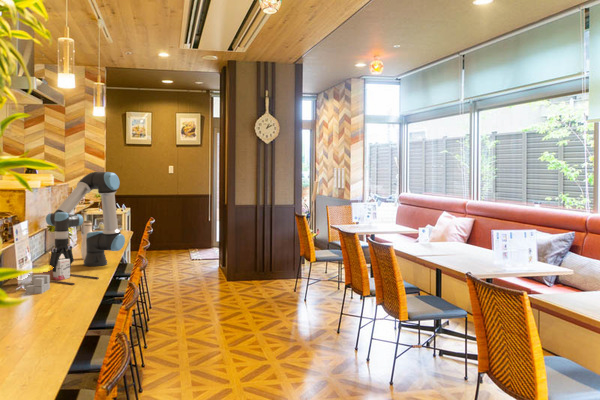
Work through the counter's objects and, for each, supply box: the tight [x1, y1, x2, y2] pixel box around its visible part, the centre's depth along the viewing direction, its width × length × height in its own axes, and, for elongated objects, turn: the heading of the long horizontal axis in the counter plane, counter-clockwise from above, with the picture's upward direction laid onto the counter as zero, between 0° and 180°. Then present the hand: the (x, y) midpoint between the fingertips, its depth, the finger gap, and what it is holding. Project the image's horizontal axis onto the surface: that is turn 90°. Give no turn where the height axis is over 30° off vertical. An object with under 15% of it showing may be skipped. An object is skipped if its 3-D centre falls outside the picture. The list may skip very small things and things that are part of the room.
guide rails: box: [50, 273, 100, 286], centre depth 315 cm, size 20×25×1 cm
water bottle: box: [80, 220, 94, 261], centre depth 388 cm, size 10×9×28 cm
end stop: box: [39, 269, 54, 280], centre depth 319 cm, size 20×2×6 cm, turn 158°
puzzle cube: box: [23, 274, 51, 295], centre depth 284 cm, size 12×12×8 cm
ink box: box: [53, 257, 71, 281], centre depth 317 cm, size 9×5×12 cm, turn 162°
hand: (61, 275), depth 317 cm, fingers closed on ink box, 9 cm apart
